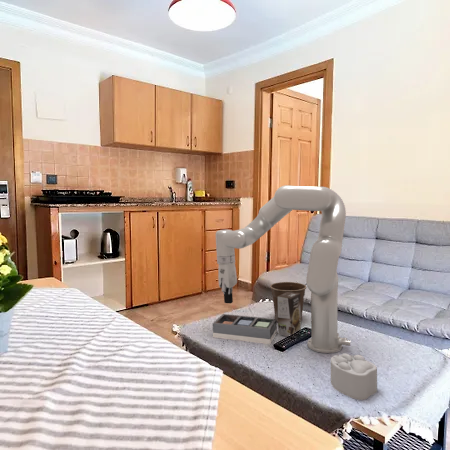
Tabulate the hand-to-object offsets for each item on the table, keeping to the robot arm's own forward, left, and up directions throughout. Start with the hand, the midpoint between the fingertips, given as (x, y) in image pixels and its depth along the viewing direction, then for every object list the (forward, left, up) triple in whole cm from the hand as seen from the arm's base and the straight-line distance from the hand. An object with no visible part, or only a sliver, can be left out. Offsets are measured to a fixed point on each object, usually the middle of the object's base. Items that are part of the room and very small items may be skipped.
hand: (228, 302), depth 147 cm
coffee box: (-24, -8, -14) cm, 29 cm away
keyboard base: (-7, 0, -13) cm, 15 cm away
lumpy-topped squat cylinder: (-49, +28, -14) cm, 58 cm away
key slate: (-7, 0, -10) cm, 12 cm away
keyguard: (-7, 0, -11) cm, 13 cm away
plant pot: (-21, -22, -14) cm, 33 cm away
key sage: (-14, 0, -10) cm, 18 cm away
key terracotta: (+1, 0, -12) cm, 12 cm away
